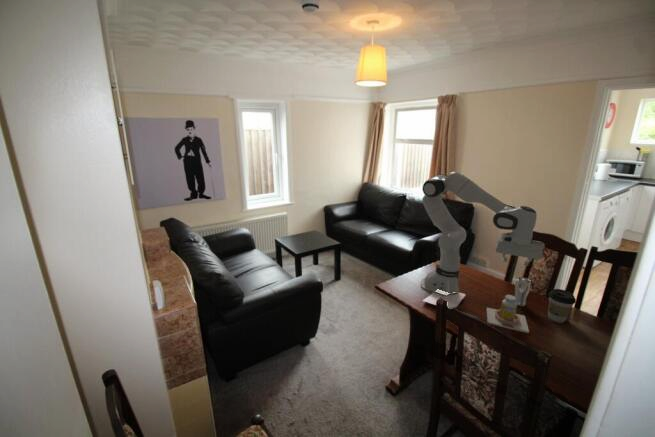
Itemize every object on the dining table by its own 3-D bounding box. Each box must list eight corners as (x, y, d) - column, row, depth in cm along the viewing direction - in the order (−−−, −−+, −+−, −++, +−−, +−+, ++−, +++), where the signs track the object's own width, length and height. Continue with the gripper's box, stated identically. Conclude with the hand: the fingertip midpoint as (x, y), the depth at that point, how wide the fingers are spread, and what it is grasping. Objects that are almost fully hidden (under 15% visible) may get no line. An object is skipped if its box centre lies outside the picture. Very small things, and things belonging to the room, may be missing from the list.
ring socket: (487, 323, 154) (488, 318, 153) (486, 309, 166) (487, 304, 165) (528, 333, 146) (529, 328, 145) (524, 317, 158) (525, 312, 157)
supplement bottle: (500, 313, 160) (504, 292, 156) (514, 317, 156) (519, 296, 152) (498, 319, 155) (502, 297, 151) (512, 324, 151) (517, 302, 147)
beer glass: (528, 307, 167) (533, 283, 162) (514, 306, 168) (519, 282, 164) (523, 300, 173) (528, 277, 169) (510, 299, 175) (514, 276, 170)
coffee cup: (538, 314, 160) (544, 290, 156) (552, 310, 164) (558, 286, 160) (560, 327, 150) (567, 301, 146) (575, 322, 154) (582, 297, 150)
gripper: (544, 239, 149) (538, 264, 154) (498, 233, 158) (493, 256, 162) (546, 244, 144) (540, 270, 148) (498, 236, 152) (493, 261, 157)
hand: (515, 263), depth 155 cm, fingers open, 8 cm apart
